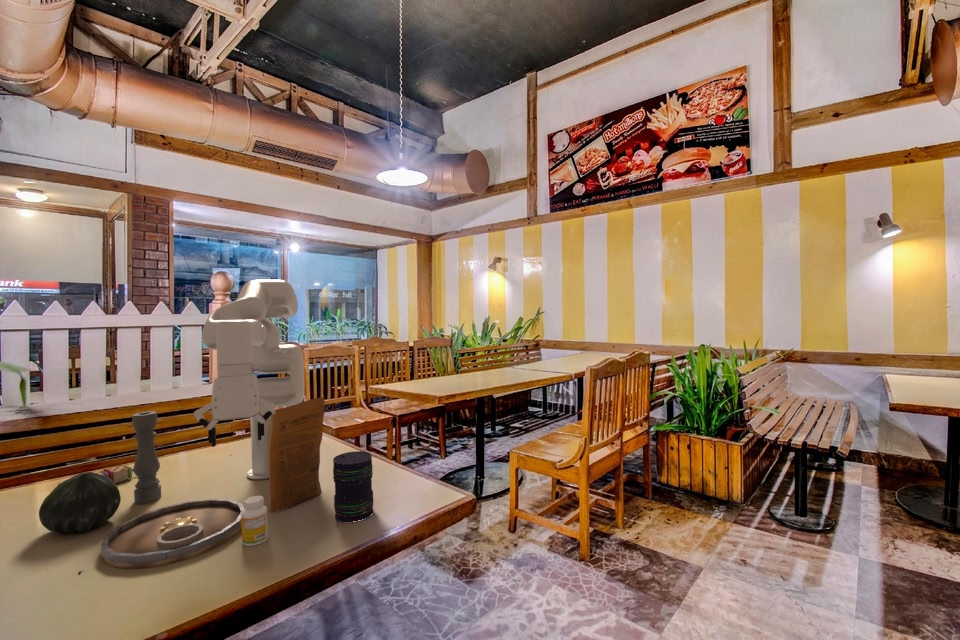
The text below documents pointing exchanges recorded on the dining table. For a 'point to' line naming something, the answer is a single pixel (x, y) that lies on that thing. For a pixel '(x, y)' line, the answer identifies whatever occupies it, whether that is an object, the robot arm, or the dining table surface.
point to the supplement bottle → (254, 521)
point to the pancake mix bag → (295, 453)
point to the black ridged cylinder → (353, 486)
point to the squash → (80, 503)
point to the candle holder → (146, 458)
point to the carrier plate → (152, 531)
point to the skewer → (117, 473)
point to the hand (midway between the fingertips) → (237, 442)
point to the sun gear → (177, 523)
